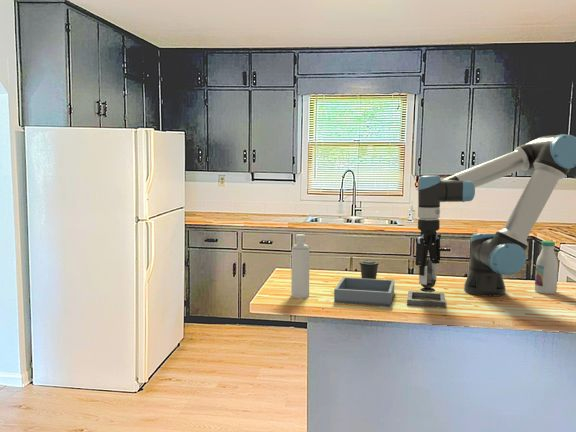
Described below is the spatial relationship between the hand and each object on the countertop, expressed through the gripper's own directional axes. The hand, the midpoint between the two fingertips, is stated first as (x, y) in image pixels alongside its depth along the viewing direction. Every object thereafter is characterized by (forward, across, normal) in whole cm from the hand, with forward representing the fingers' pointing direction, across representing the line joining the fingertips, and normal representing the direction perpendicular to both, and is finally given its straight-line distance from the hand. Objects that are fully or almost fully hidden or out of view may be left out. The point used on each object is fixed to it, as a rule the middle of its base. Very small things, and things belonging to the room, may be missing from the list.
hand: (427, 282), depth 193 cm
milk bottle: (+8, +46, -25) cm, 53 cm away
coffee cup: (+7, +6, +31) cm, 32 cm away
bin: (+7, -11, +19) cm, 24 cm away
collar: (+7, 0, 0) cm, 7 cm away
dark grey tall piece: (+3, 0, 0) cm, 3 cm away
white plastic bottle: (+7, -27, +38) cm, 47 cm away
